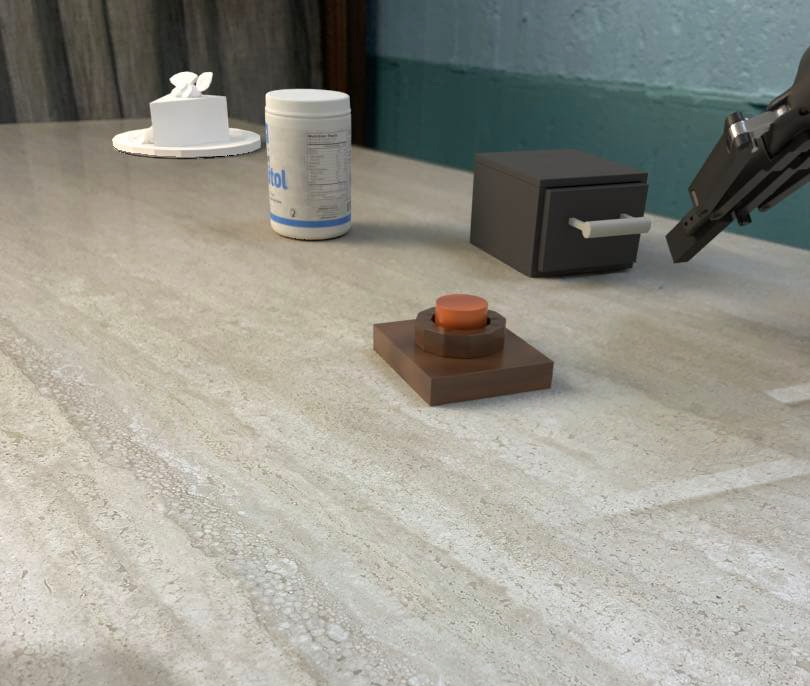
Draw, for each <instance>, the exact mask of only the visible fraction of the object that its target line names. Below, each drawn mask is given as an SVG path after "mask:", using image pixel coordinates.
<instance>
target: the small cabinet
mask: <svg viewBox="0 0 810 686" xmlns="http://www.w3.org/2000/svg"><path fill="white" fill-rule="evenodd" d="M473 162H474V163H473V178H472V180H473V181H472V195H471V210H470V212H471V213H470V226H469V227H470V230H469V243H470V244H472V245H473V246H475V247H477V248H478V249H480V250H482V251H483V252H485V253H487V254H489V255H490V256H492V257H494V258H496V259H497V260H499V261H501V262H502V263H504V264H506V265H507V266H509V267H511V268H513V269H514V270H516V271H518V272H520V273H521V274H522V275H524V276H526V277H528V278H531V279H532V278H542V277H550V276H551V277H552V276H563V275H574V274H584V273H591V272H592V273H593V272H600V271H602V272H603V271H610V270H620V269H630V268H634V263H626V264H617V265H607V266H597V267H587V268H578V269H568V270H558V271H548V272H541V271H539V270H538V269H537V260H538V250H539V241H540V231H541V222H542V212H543V202H544V193H545V189H546V188H547V187H562V186H577V185H592V184H607V183H622V182H628V183H645V184H648V177H649V172H648V171H645V170H641V169H638V168H635V167H632V166H629V165H626V164H623V163H619V162H617V161H613V160H610V159H607V158H604V157H601V156H598V155H595V154H592V153H588V152H586V151H582V150H579V149H577V148H573V147H572V148H555V149H535V150H517V151H515V150H514V151H497V152H494V151H493V152H476V153H474V161H473Z"/></svg>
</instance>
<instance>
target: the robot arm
mask: <svg viewBox="0 0 810 686" xmlns="http://www.w3.org/2000/svg"><path fill="white" fill-rule="evenodd" d="M800 57H801V58H800V60H799V62H798V66H797V71H796V73H795V78H794V80H793V83H792V85H791V86H790V87H789V88H788V89H786V90H785V91H784V92H782V93H781V94H779V95H778V96H776V97H775V98H773V99H772V100H771V101H770V102H769V103H768V105H767V107H766V108H765V111H764V112H762V113H760V114H757V115H755V116H752V117H749V118H748V117H744V113H743V111H741V110H740V111H735V112H732V113H730V114H729V115H727V117H725V118H724V119H725V120H724V124H723V133H722V135H721V136H720V137H719V139H718V141H717V143H716V144H715V145H714V147H713V149H712V150H711V152H710V153H709V154H708V157H706V159H705V161H704V162H703V164H702V165H701V168H700V169H699V170H698V172H697V174H695V177H694V178H693V180H692V181H691V183H690V185H689V186H688V187H687V191H688V195H689V198H690V200H691V204H692V208H691V209H690V210H689V211H688V212H686V213H685V215H683V217H682V218H681V219H680V220H679V221H678V223H676V224H675V226H674V227H672V229H670V230H669V231H668V233H666V234H665V235H664V237H665V240H666V244H667V247H668V250H669V253H670V255H671V256H670V257H671V259H672V262H673V264H684V263H689V262H690V261H691V260H692V259H693V258H694V257H695V256H696V255H698V254H699V253H700V252H701V251H702V250H703V249H704V248H705V247H706V246H707V245H708V244H710V243H711V242H712V241H713V240H714V239H715V238H717V236H719V235H720V234H721V233H722V232H723V231H724V230H726V228H727V227H728V226H730V225H731V224H732V223H733V222H734V221H737V225H738V227H745V226H748V225H749V224H752V223H753V220H752V217H751V213H752V212H753V211H754V210H755V209H757V211H758V212H759V213H765V212H768V211H769V210H771V209H772V208H773V207H775V206H776V205H778V204H779V203H781V202H783V201H784V200H785V199H787V198H788V197H789V196H791V195H792V194H794V193H795V192H796V191H797V192H798V190H800V189H801V188H802V187H804V186H805V185H807V184H808V183H810V45H809V46H808V47H807V48H806V49H805V50H804V52H803V53H802V56H800Z"/></svg>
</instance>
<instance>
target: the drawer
mask: <svg viewBox="0 0 810 686" xmlns="http://www.w3.org/2000/svg"><path fill="white" fill-rule="evenodd" d="M649 188H650V184H648V183H647V184H645V183H628V182H622V183H607V184H592V185H577V186H562V187H547V188H546V189H545V193H544V202H543V212H542V222H541V231H540V241H539V250H538V260H537V269H538V270H539V271H541V272H548V271H558V270H568V269H578V268H587V267H597V266H607V265H617V264H626V263H633V264H634V263H637V258H638V254H639V246H640V241H641V235H642V234H647V233H649V232H650V231H651V229H652V220H651V218H650V217H649V216H645V211H646V205H647V199H648V192H649Z"/></svg>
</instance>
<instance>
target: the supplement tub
mask: <svg viewBox="0 0 810 686" xmlns="http://www.w3.org/2000/svg"><path fill="white" fill-rule="evenodd" d="M350 99H351V98H350V95H349V94H347V93H345V92H342V91H336V90H327V89H314V88H288V89H287V88H285V89H277V90H276V89H275V90H271V91H268V92H267V93H266V94H265V106H264V117H265V118H264V120H265V141H266V143H265V144H266V160H267V179H268V197H269V199H268V200H269V201H268V202H269V213H270V215H269V216H270V225H271V228H272V229H273V231H274V232H275V233H277V234H278V235H280V236H283V237H288V238H290V239H295V238H296V239H297V240H304V239H305V241H315V240H316V241H317V240H327V239H328V240H329V239H334V238H338V237H341V236H343V235H345V234H346V233H348V232H349V231H350V229H351V227H352V114H351V112H352V109H351V101H350Z"/></svg>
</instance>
